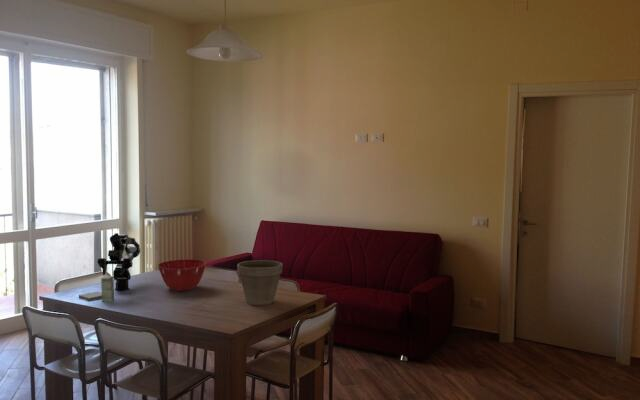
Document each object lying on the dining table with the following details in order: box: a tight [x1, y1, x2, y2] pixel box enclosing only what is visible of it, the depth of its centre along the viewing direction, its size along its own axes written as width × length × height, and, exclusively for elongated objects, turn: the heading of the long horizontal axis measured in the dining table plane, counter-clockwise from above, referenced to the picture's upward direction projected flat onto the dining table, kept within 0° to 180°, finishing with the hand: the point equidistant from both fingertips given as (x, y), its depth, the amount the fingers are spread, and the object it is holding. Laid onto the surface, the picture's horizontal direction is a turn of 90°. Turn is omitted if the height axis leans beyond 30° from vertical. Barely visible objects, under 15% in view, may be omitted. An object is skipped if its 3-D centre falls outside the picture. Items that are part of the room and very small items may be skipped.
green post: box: [100, 275, 115, 302], centre depth 307 cm, size 5×5×13 cm
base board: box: [78, 291, 102, 302], centre depth 313 cm, size 11×11×2 cm
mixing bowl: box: [157, 258, 207, 292], centre depth 335 cm, size 28×28×15 cm
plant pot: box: [236, 259, 284, 306], centre depth 304 cm, size 25×25×22 cm
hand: (111, 275), depth 313 cm, fingers open, 9 cm apart
